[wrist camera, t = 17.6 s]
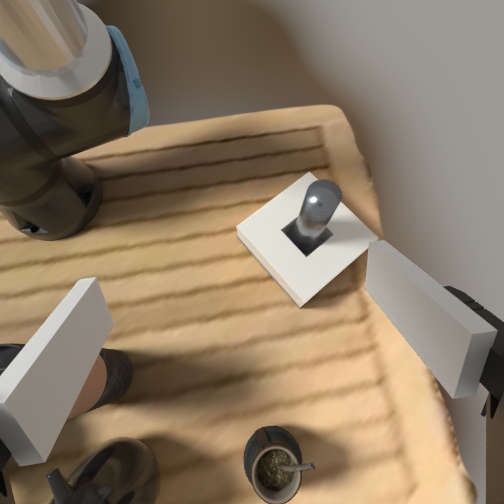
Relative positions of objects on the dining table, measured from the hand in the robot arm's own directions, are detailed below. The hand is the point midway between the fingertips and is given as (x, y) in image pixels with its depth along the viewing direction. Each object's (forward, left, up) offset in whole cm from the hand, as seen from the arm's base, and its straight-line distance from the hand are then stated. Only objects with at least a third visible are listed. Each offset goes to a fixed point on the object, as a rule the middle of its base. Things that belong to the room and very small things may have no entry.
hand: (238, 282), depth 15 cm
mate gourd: (+14, -7, -32) cm, 36 cm away
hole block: (-5, +16, -32) cm, 36 cm away
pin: (-5, +16, -31) cm, 35 cm away
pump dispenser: (+4, -23, -32) cm, 40 cm away
